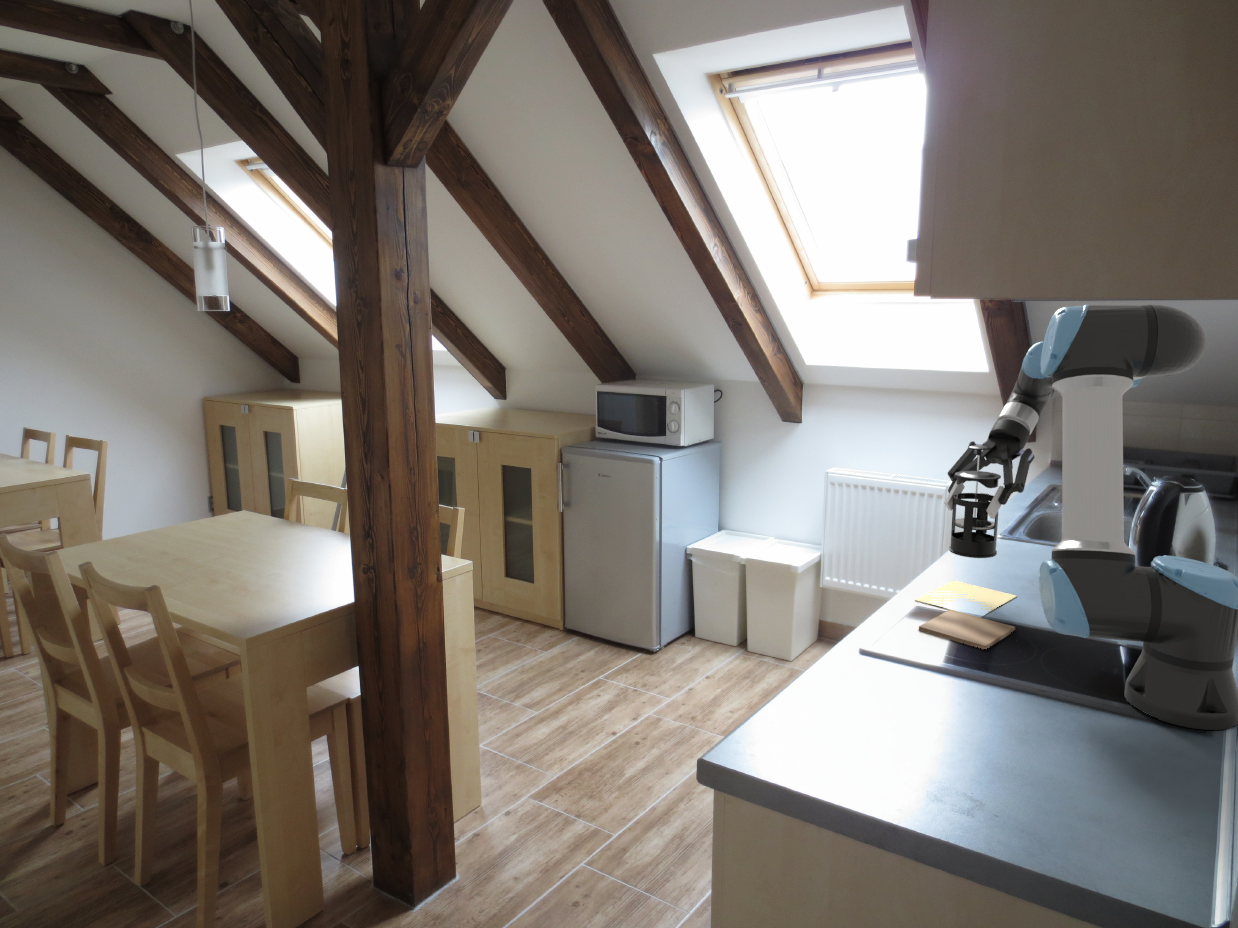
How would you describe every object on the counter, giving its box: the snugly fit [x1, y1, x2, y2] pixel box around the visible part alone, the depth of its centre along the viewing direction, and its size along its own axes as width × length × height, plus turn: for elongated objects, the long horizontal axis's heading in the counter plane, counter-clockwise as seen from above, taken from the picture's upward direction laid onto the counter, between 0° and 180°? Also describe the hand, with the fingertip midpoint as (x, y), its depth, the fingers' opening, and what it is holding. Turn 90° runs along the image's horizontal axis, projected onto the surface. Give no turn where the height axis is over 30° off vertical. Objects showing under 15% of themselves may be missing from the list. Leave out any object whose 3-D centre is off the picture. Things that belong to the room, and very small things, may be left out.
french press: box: [948, 445, 1002, 559], centre depth 175 cm, size 12×9×23 cm
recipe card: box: [914, 580, 1018, 613], centre depth 178 cm, size 18×14×1 cm
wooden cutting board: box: [918, 609, 1016, 650], centre depth 160 cm, size 13×13×1 cm
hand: (968, 510), depth 173 cm, fingers closed on french press, 9 cm apart
